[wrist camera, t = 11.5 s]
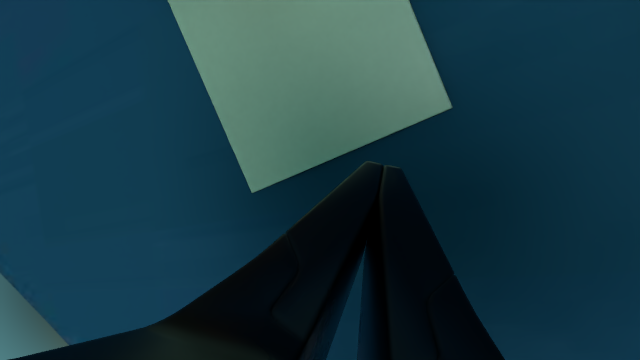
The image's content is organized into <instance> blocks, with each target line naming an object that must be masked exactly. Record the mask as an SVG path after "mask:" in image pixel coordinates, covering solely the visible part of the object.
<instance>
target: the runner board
mask: <svg viewBox="0 0 640 360" xmlns="http://www.w3.org/2000/svg"><path fill="white" fill-rule="evenodd" d="M168 2H169V4H170V7H171V9H172V11H173V13H174V16H175V18H176V20H177V23H178V25H179V27H180V30H181V32H182V34H183V36H184V39H185V41H186V43H187V46H188V48H189V50H190V52H191V55H192V57H193V59H194V62H195V64H196V66H197V68H198V71H199V73H200V75H201V78H202V80H203V82H204V84H205V87H206V89H207V91H208V94H209V96H210V98H211V100H212V103H213V105H214V107H215V110H216V112H217V114H218V117H219V119H220V121H221V123H222V126H223V128H224V130H225V133H226V135H227V137H228V139H229V142H230V144H231V146H232V149H233V151H234V153H235V155H236V158H237V160H238V162H239V165H240V167H241V169H242V171H243V174H244V176H245V178H246V181H247V183H248V185H249V187H250V190H251V192H252V193H254V192H256V191H258V190H261V189H263V188H265V187H268V186H270V185H272V184H275V183H277V182H280V181H282V180H284V179H287V178H289V177H291V176H294V175H296V174H298V173H301V172H303V171H305V170H308V169H310V168H312V167H315V166H317V165H319V164H322V163H324V162H326V161H329V160H331V159H334V158H336V157H338V156H341V155H343V154H345V153H348V152H350V151H352V150H355V149H357V148H359V147H362V146H364V145H366V144H369V143H371V142H373V141H376V140H378V139H380V138H383V137H385V136H387V135H390V134H392V133H395V132H397V131H399V130H402V129H404V128H406V127H409V126H411V125H413V124H416V123H418V122H420V121H423V120H425V119H427V118H430V117H432V116H434V115H437V114H439V113H441V112H444V111H446V110H449V109H451V108H452V105H451V102H450V100H449V97H448V95H447V92H446V90H445V87H444V85H443V82H442V80H441V78H440V75H439V73H438V70H437V68H436V65H435V63H434V60H433V58H432V55H431V53H430V51H429V48H428V46H427V43H426V41H425V38H424V36H423V33H422V31H421V28H420V26H419V24H418V21H417V19H416V16H415V14H414V11H413V9H412V6H411V4H410V1H409V0H168Z"/></svg>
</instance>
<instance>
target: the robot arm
mask: <svg viewBox="0 0 640 360" xmlns="http://www.w3.org/2000/svg"><path fill="white" fill-rule="evenodd" d="M367 238H368V239H367ZM366 242H367V244H366ZM365 246H366V249H365ZM364 250H365V258H364V270H363V284H362V298H361V312H360V326H359V340H358V353H357V360H505V359H504V357H503V356H502V354H501V353H500V351H499V350H498V348H497V347H496V345H495V344H494V342H493V340H492V339H491V337H490V336H489V334H488V332H487V331H486V329H485V328H484V326H483V324H482V323H481V321H480V319H479V318H478V316H477V315H476V313H475V311H474V309H473V307H472V306H471V304H470V302H469V300H468V298H467V296H466V295H465V293H464V291H463V289H462V287H461V285H460V283H459V281H458V279H457V277H456V276H455V275H454V271H453V269H452V267H451V265H450V263H449V261H448V260H447V258H446V256H445V254H444V252H443V250H442V248H441V246H440V244H439V242H438V240H437V238H436V236H435V234H434V232H433V230H432V228H431V226H430V224H429V222H428V220H427V218H426V216H425V214H424V212H423V210H422V208H421V206H420V204H419V202H418V200H417V198H416V196H415V194H414V192H413V190H412V188H411V186H410V185H409V183H408V181H407V179H406V177H405V175H404V173H403V171H402V169H401V168H399V167H394V166H389V165H385V166H384V167H383V165H382V164H380V163H375V162H370V161H366V162H365V163H363V164H362V165H361V166H360V167H359V168H358V169H357V170H356V171H354V172H353V173H352V174H351V175H350V176H349V177H348V178H346V179H345V180H344V181H343V182H342V183H341V184H340V185H339V186H337V187H336V188H335V189H334V190H333V191H332V192H331V193H329V194H328V195H327V196H326V197H325V198H324V199H323V200H322V201H320V202H319V203H318V204H317V205H316V206H315V207H314V208H312V209H311V210H310V211H309V212H308V213H307V214H306V215H305V216H303V217H302V218H301V219H300V220H299V221H298V222H297V223H295V224H294V225H293V226H292V227H291V228H290V229H289V230H288V231H286V234H283V235H282V236H281V237H279V238H278V239H277V240H276V241H275V242H274V243H273V244H271V245H270V246H269V247H268V248H267V249H265V250H264V251H263V252H262V253H261V254H259V255H258V256H257V257H256V258H254V259H253V260H252V261H250V262H249V263H247V264H246V265H245V266H243V267H242V268H240V269H239V270H238V271H236V272H235V273H233V274H232V275H231V276H229V277H228V278H226V279H225V280H223V281H222V282H220V283H219V284H217V285H216V286H214V287H213V288H212V289H210V290H209V291H207V292H206V293H204V294H203V295H201V296H200V297H198V298H197V299H195V300H194V301H193V302H191V303H190V304H188V305H187V306H185V307H184V308H182V309H181V310H179V311H178V312H176V313H174V314H173V315H171V316H169V317H167V318H165V319H163V320H161V321H159V322H157V323H155V324H152V325H149V326H147V327H144V328H140V329H136V330H132V331H128V332H124V333H120V334H116V335H111V336H107V337H103V338H99V339H95V340H91V341H86V342H82V343H78V344H74V345H70V346H66V347H61V348H57V349H53V350H49V351H45V352H41V353H36V354H32V355H28V356H24V357H20V358H15V359H9V360H326V358H327V355H328V352H329V349H330V346H331V344H332V341H333V338H334V335H335V333H336V330H337V327H338V324H339V321H340V319H341V316H342V313H343V310H344V307H345V305H346V302H347V299H348V296H349V293H350V291H351V288H352V285H353V282H354V280H355V277H356V274H357V271H358V268H359V266H360V263H361V260H362V257H363V254H364Z"/></svg>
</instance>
